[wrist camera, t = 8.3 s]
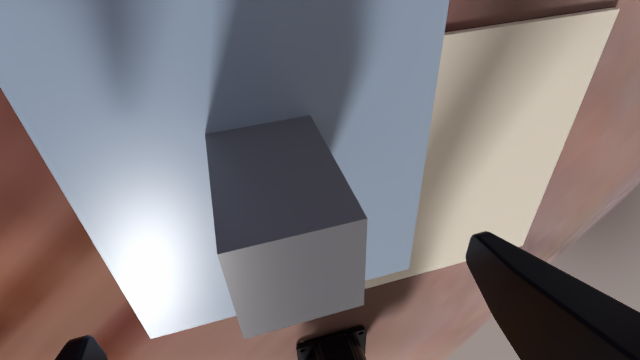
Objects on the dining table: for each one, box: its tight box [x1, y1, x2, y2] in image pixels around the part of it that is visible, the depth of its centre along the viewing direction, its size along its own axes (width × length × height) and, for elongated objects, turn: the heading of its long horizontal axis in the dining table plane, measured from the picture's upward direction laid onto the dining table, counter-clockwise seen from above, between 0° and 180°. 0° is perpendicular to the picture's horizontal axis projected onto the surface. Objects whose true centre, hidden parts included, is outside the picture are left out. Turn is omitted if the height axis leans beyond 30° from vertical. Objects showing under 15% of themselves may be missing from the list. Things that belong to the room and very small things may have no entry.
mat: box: [365, 7, 620, 289], centre depth 27 cm, size 20×16×1 cm
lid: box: [0, 0, 449, 339], centre depth 10 cm, size 14×11×5 cm
